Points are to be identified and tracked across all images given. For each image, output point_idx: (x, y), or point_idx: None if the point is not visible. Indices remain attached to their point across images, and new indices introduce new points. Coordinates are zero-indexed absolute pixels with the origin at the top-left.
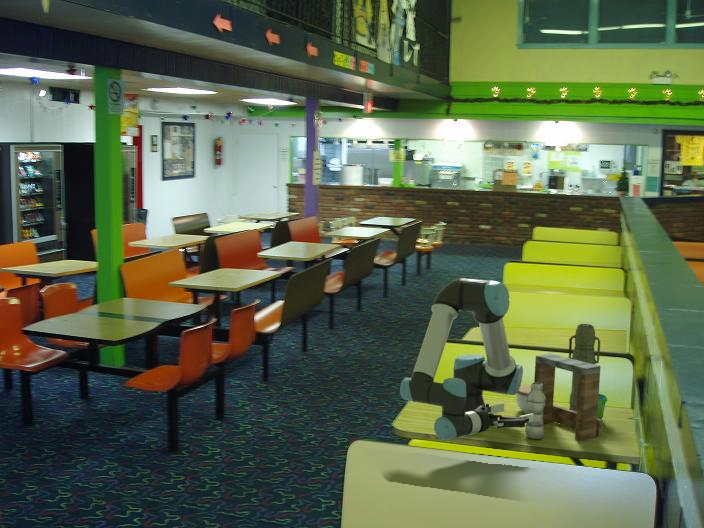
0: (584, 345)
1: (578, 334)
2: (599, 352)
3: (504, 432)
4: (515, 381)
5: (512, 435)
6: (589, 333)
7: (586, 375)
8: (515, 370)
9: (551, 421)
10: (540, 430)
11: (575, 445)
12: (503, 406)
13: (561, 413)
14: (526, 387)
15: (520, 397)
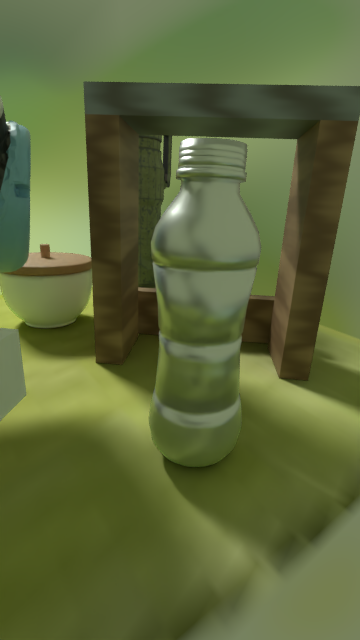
0: (149, 136)
1: None
2: (170, 161)
3: (29, 478)
4: (19, 193)
5: (88, 486)
6: None
7: (357, 122)
8: (6, 132)
9: (137, 334)
10: (241, 411)
11: (341, 412)
12: (15, 354)
13: None
14: None
15: (19, 285)
